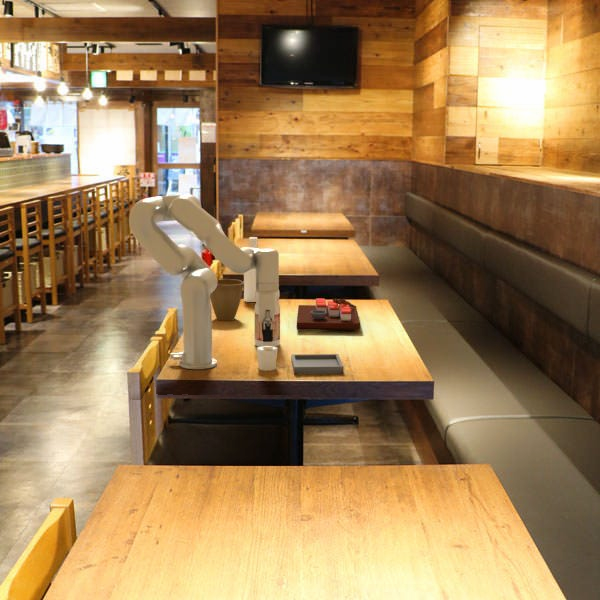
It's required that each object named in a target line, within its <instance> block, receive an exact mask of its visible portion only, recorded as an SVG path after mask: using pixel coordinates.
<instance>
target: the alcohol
mask: <svg viewBox="0 0 600 600" xmlns="http://www.w3.org/2000/svg"><path fill="white" fill-rule="evenodd" d="M248 247H250V248H256V249H259V247H258V237H257V236H250V237H248ZM243 282H244V284H243V300H244V302H245V301H246V302H245V303H247V302H256V298H255V290H256V269H251V270H249V271H247V272H245V273H243Z"/></svg>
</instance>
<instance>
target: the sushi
mask: <svg viewBox="0 0 600 600" xmlns="http://www.w3.org/2000/svg"><path fill="white" fill-rule="evenodd" d="M297 307H298V308H297V317H296V330H299V329H301V330H304V331H305V330H307V331H308V330H309V331H310V330H312V331H313V330H314V331H315V330H317V331H319V330H320V331H360V329H361V321H360V317H359V312H358V309H357V305H355V304H352V303H351V302H349V301H348V300H346V299H345V298H339V299H337V298H332V300H327V301H326V299H325V298H322V297H321V298H315V304H314V305H313V304H310V305H309V304H298V306H297ZM301 330H300V331H301Z"/></svg>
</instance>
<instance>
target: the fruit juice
mask: <svg viewBox="0 0 600 600" xmlns="http://www.w3.org/2000/svg"><path fill="white" fill-rule="evenodd" d="M280 296H281V295H280V291H279V292H276V293H275V314H274V322H273V323H272V329H273V341H272V342H263V335H262V323H263V322H261V323H260V322H259V293H258V292H256V290H255V298H256V303H254V304H255V305H254V311H253V312H254V345H255V346H257V347H259V346H275V347H279V346H280V345H281V344H280V343H281V306H280V305H281V304H280V302H279V301H280V300H279V299H280Z"/></svg>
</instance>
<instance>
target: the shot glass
mask: <svg viewBox="0 0 600 600" xmlns="http://www.w3.org/2000/svg"><path fill="white" fill-rule="evenodd" d="M256 353H257V354H256V355H257V365H258V369H259V370H260V371H265V372H266V371H267V370H269V371H274V370H276V369H277V368H276V366H277V357H278V346H257V347H256Z"/></svg>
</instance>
